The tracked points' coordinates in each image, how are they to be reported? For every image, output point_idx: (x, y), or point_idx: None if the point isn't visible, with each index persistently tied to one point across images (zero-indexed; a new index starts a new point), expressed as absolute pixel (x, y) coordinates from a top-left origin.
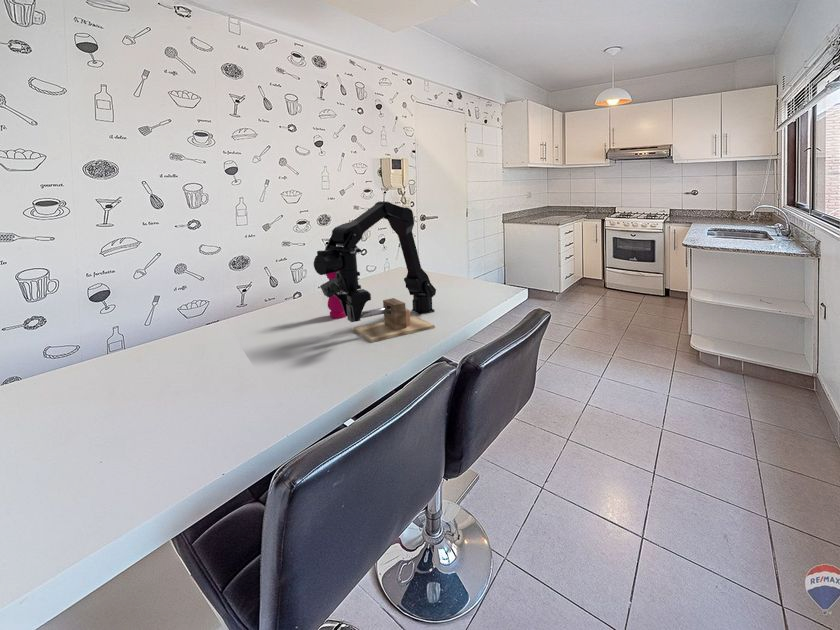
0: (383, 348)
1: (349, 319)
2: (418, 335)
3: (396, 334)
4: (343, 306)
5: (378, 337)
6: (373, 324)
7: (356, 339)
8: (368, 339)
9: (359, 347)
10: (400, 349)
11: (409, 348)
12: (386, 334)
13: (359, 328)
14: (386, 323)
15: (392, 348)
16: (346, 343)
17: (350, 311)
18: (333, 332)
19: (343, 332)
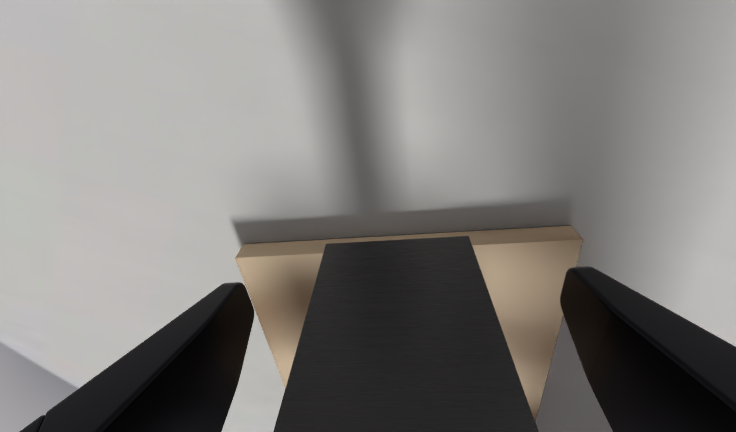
0: (114, 263)
1: (391, 254)
2: (263, 422)
3: (285, 377)
4: (730, 411)
5: (254, 300)
6: (530, 355)
7: (353, 180)
8: (289, 245)
9: (164, 145)
10: (85, 319)
11: (95, 349)
12: (291, 346)
13: (521, 267)
14: None
15: (106, 297)
16: (294, 78)
17: (292, 386)
18: (688, 51)
19: (598, 141)
